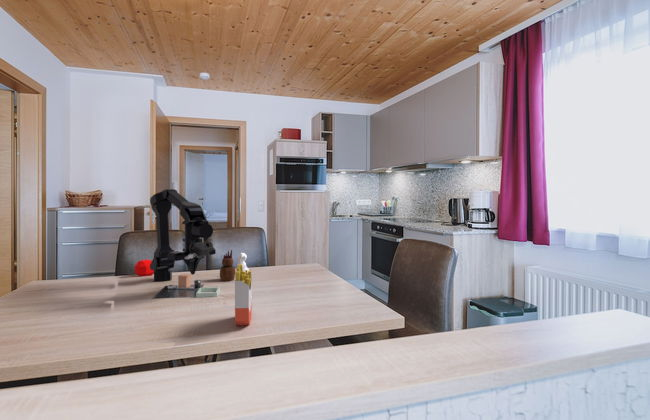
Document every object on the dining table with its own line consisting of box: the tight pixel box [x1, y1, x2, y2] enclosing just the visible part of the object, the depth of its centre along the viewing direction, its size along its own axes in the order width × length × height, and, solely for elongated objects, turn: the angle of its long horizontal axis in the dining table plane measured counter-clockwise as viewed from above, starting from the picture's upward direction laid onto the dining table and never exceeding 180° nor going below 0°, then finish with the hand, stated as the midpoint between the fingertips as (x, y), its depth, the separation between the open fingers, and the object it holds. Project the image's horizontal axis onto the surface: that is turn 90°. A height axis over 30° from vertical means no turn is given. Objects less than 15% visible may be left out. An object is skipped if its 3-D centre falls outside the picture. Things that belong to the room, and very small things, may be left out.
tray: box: [195, 286, 221, 298], centre depth 135 cm, size 8×8×2 cm
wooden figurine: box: [219, 249, 236, 282], centre depth 156 cm, size 7×6×15 cm
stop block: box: [177, 273, 192, 287], centre depth 144 cm, size 4×4×5 cm
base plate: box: [151, 284, 205, 300], centre depth 139 cm, size 16×18×1 cm
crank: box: [167, 279, 202, 290], centre depth 141 cm, size 14×4×4 cm, turn 83°
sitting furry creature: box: [235, 252, 250, 273], centre depth 166 cm, size 10×9×12 cm
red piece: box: [134, 258, 154, 278], centre depth 165 cm, size 8×8×8 cm
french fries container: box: [234, 263, 253, 326], centre depth 109 cm, size 5×11×18 cm, turn 7°
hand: (192, 274), depth 139 cm, fingers closed
